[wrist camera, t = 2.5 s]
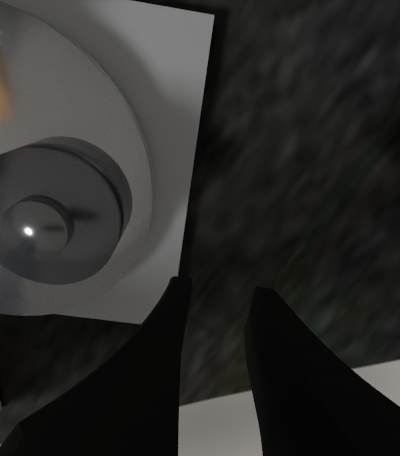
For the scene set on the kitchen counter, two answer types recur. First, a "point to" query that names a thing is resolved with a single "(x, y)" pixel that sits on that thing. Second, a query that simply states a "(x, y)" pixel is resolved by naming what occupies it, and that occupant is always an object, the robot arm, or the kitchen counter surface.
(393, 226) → the kitchen counter surface
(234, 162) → the kitchen counter surface
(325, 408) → the robot arm
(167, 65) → the base plate
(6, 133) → the turntable
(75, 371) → the kitchen counter surface
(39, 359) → the kitchen counter surface
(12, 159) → the cover
